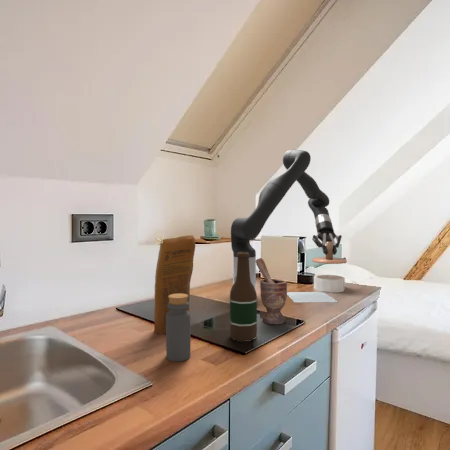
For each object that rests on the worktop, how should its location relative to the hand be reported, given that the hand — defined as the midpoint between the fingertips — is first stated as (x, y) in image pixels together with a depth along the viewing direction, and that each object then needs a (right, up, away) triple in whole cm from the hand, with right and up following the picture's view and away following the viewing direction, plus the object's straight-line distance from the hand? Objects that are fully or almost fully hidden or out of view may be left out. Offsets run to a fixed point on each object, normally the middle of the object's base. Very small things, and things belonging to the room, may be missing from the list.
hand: (330, 253), depth 151 cm
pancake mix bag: (-63, -19, -47) cm, 81 cm away
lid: (0, -4, +2) cm, 4 cm away
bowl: (0, -17, +2) cm, 17 cm away
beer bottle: (-42, -19, -56) cm, 73 cm away
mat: (-12, -18, -12) cm, 25 cm away
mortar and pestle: (-33, -19, -41) cm, 56 cm away
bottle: (-59, -20, -69) cm, 93 cm away
